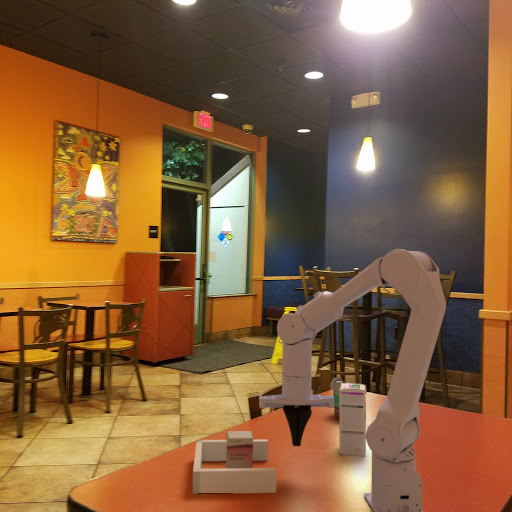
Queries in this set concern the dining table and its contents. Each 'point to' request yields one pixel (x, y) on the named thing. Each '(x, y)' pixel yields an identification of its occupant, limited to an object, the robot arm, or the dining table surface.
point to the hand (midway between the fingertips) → (296, 444)
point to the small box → (239, 449)
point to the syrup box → (352, 419)
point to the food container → (338, 394)
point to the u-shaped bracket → (231, 470)
